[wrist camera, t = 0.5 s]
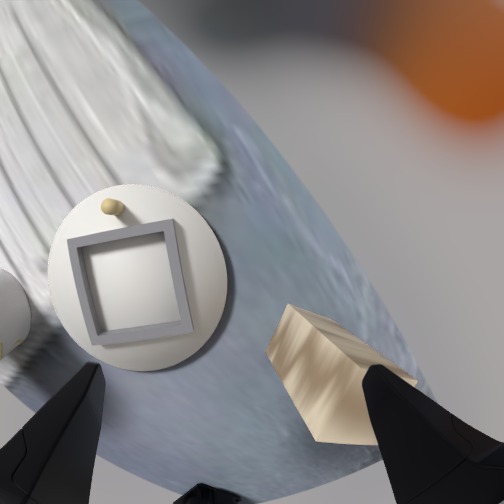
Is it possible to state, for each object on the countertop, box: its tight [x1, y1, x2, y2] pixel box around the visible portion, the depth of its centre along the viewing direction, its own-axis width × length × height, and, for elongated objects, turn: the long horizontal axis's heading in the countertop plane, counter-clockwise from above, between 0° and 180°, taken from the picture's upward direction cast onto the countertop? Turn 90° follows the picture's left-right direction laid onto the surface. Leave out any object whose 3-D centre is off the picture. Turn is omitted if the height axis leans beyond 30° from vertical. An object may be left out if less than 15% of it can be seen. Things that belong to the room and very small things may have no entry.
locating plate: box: [48, 184, 227, 371], centre depth 22 cm, size 16×16×4 cm
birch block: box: [266, 304, 418, 445], centre depth 21 cm, size 5×5×13 cm
